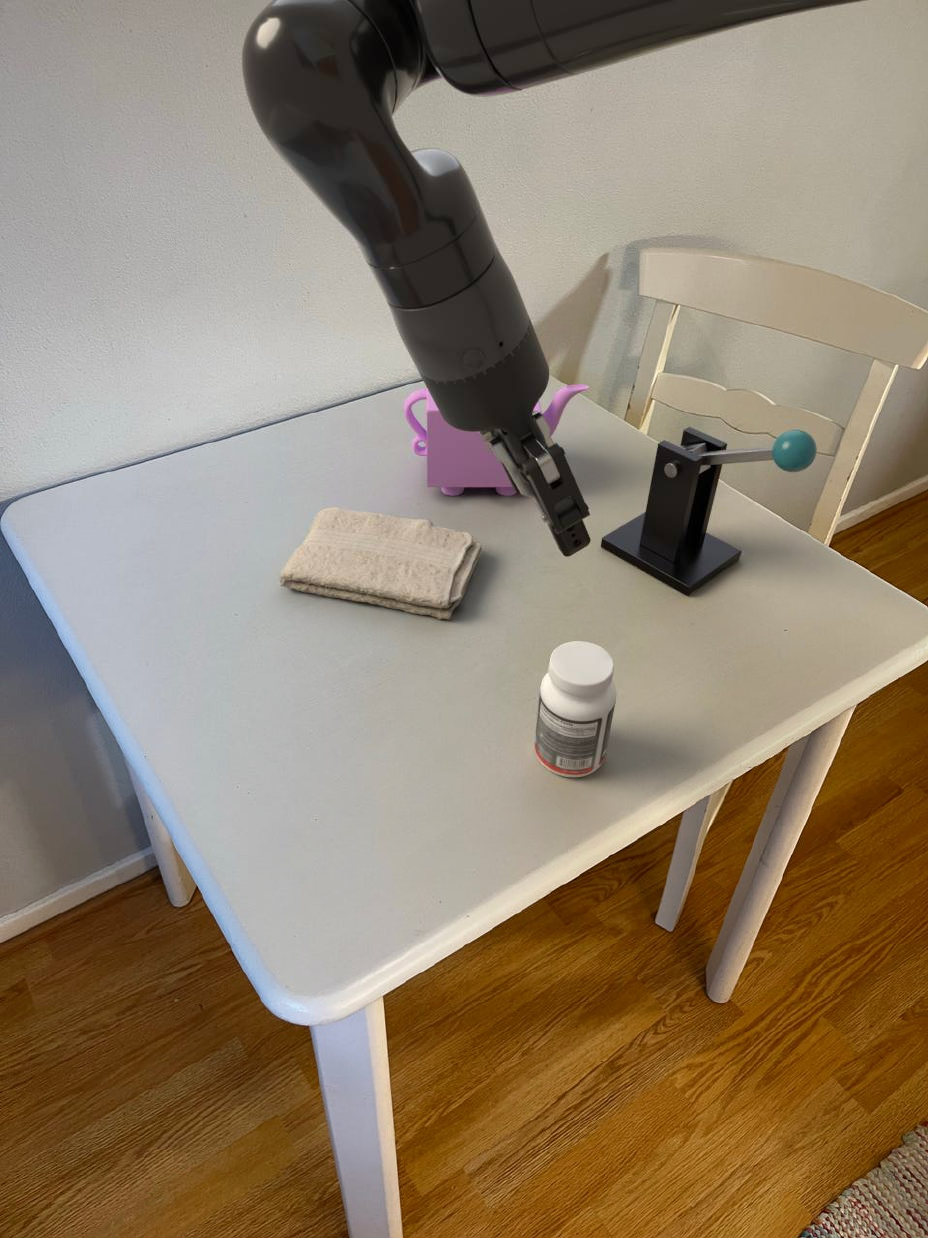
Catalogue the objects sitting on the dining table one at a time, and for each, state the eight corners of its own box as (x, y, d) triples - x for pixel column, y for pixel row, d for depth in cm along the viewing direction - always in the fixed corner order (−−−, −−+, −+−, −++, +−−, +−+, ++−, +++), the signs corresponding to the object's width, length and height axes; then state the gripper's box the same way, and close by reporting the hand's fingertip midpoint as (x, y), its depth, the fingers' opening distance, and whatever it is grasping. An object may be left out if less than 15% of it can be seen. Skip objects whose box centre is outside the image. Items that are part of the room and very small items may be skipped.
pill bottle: (565, 715, 75) (578, 625, 68) (619, 753, 72) (638, 662, 65) (518, 751, 71) (527, 660, 65) (573, 792, 68) (587, 701, 62)
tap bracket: (739, 560, 92) (770, 449, 84) (687, 596, 87) (714, 483, 79) (653, 515, 98) (674, 407, 90) (600, 547, 93) (616, 436, 85)
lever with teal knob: (828, 462, 77) (820, 421, 76) (806, 477, 75) (798, 435, 74) (692, 472, 88) (684, 436, 87) (670, 485, 86) (661, 449, 85)
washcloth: (457, 625, 83) (458, 599, 81) (275, 593, 86) (271, 567, 84) (485, 552, 92) (486, 527, 90) (319, 525, 95) (317, 500, 93)
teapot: (404, 499, 99) (402, 394, 91) (405, 452, 107) (403, 352, 99) (584, 498, 100) (597, 395, 92) (572, 452, 108) (583, 353, 100)
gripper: (572, 350, 50) (642, 543, 61) (480, 263, 60) (555, 443, 71) (456, 421, 50) (547, 600, 61) (383, 322, 60) (473, 491, 71)
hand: (551, 515), depth 66 cm, fingers open, 8 cm apart
